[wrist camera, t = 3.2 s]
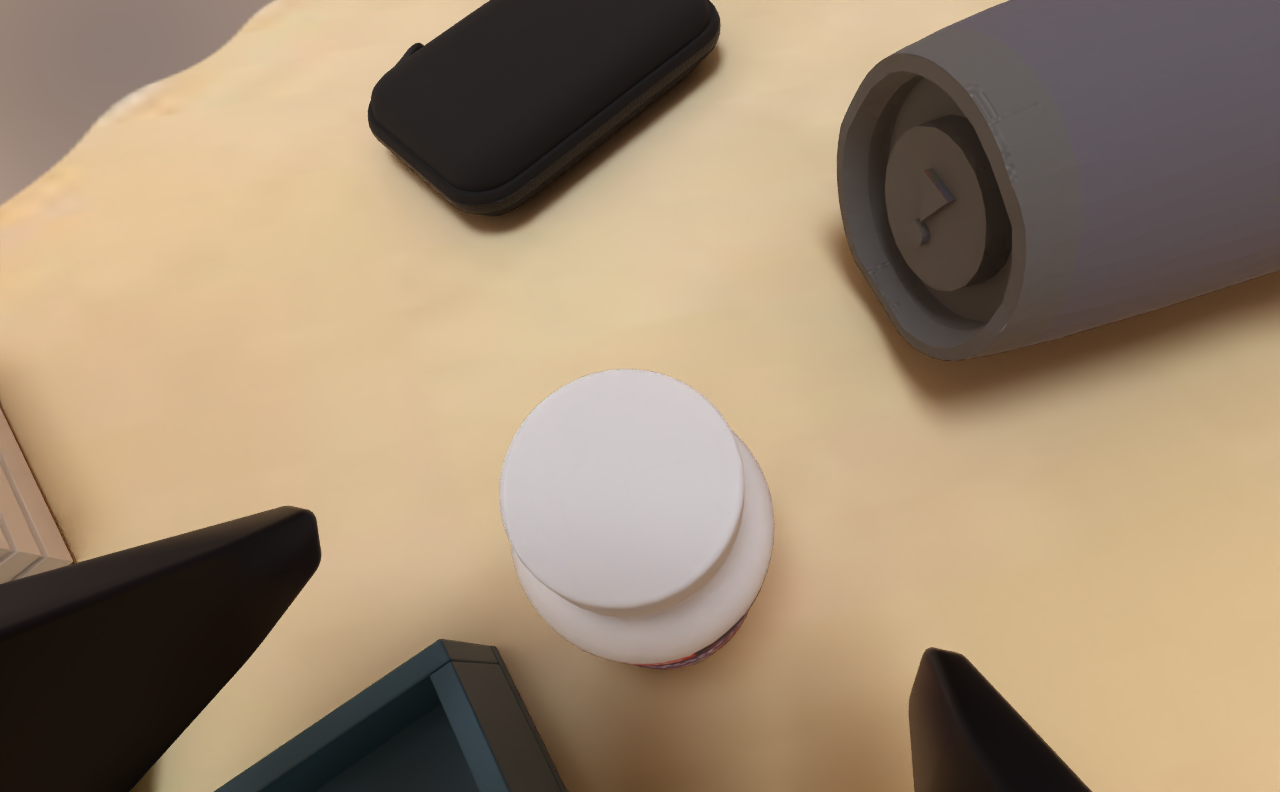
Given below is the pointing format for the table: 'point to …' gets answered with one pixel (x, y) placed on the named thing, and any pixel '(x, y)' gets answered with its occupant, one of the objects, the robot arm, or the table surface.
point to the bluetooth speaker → (1064, 168)
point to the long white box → (24, 518)
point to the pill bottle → (636, 518)
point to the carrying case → (531, 90)
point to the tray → (418, 735)
